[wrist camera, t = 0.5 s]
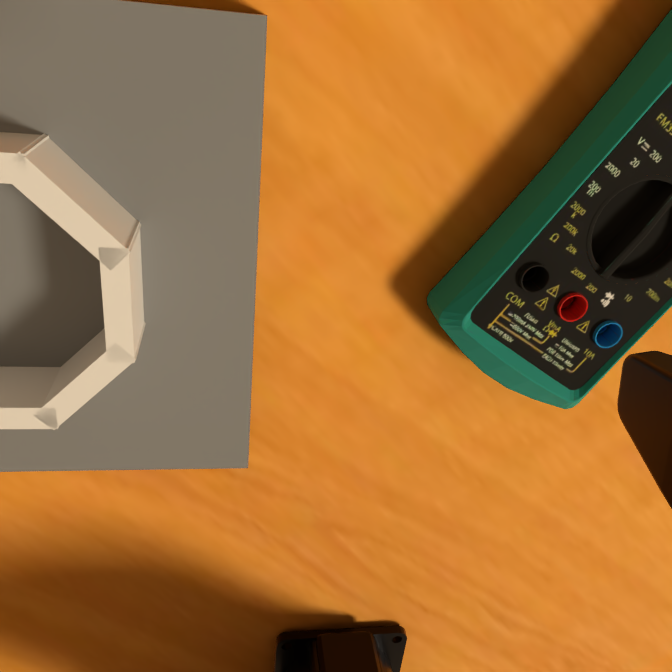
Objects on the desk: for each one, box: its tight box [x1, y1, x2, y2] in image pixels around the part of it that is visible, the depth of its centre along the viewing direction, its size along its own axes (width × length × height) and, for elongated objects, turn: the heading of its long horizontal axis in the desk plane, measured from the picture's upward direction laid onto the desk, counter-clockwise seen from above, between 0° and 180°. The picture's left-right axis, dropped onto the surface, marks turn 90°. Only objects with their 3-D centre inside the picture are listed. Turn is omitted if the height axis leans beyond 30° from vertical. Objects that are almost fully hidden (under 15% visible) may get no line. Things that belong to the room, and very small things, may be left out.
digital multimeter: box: [427, 9, 672, 409], centre depth 23 cm, size 7×15×3 cm, turn 142°
